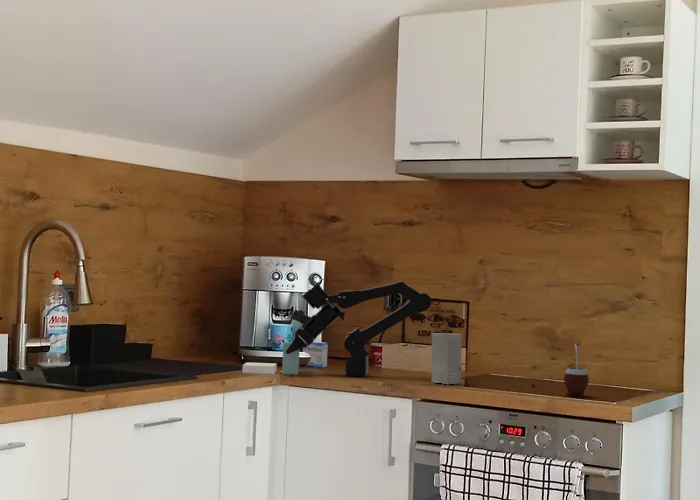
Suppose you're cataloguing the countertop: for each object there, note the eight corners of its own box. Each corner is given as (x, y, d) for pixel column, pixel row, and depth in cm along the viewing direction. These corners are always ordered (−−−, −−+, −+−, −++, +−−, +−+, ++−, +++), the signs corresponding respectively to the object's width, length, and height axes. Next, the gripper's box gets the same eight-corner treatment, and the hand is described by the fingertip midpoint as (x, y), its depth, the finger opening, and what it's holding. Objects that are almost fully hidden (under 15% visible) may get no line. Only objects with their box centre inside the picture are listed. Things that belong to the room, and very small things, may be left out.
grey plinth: (276, 371, 324) (276, 363, 324) (273, 374, 314) (273, 366, 315) (246, 369, 325) (246, 362, 325) (242, 372, 315) (242, 365, 315)
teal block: (283, 372, 322) (284, 341, 322) (298, 373, 322) (299, 342, 322) (282, 373, 317) (283, 342, 317) (297, 374, 317) (298, 343, 317)
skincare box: (448, 385, 300) (450, 334, 301) (428, 383, 305) (430, 332, 305) (462, 383, 307) (464, 333, 308) (442, 381, 311) (444, 331, 312)
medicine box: (301, 366, 345) (302, 341, 346) (306, 365, 350) (307, 340, 350) (323, 367, 343) (324, 342, 343) (327, 366, 347) (328, 342, 348)
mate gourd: (576, 398, 281) (578, 345, 281) (556, 394, 287) (557, 343, 288) (594, 397, 285) (595, 345, 285) (573, 393, 291) (575, 343, 292)
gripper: (308, 300, 329) (273, 332, 329) (304, 302, 310) (267, 335, 310) (330, 325, 329) (296, 356, 329) (328, 328, 310) (291, 361, 310)
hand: (287, 351), depth 320 cm, fingers open, 9 cm apart
